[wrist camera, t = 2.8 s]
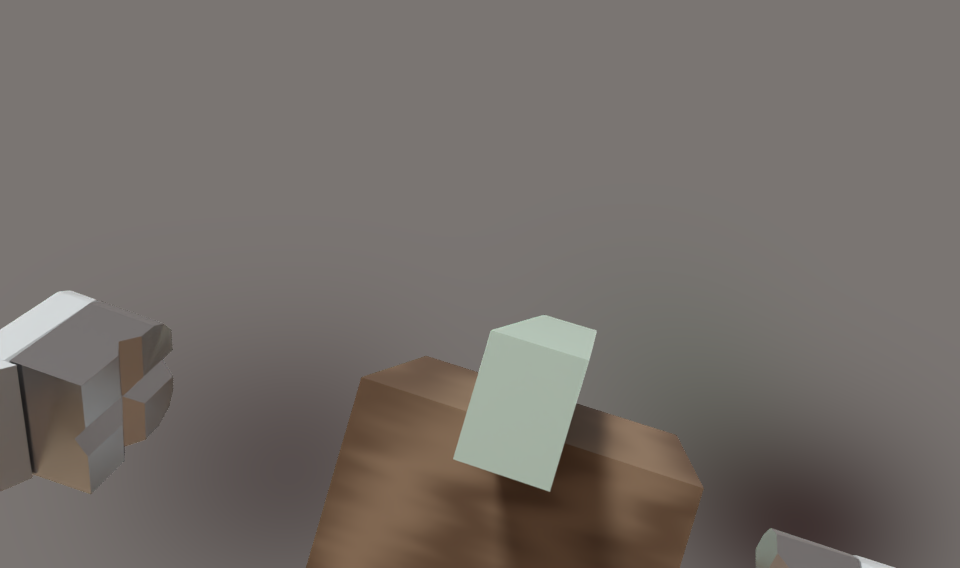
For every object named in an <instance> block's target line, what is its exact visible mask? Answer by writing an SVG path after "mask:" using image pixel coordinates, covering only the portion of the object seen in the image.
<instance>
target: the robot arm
mask: <svg viewBox="0 0 960 568" xmlns="http://www.w3.org/2000/svg"><path fill="white" fill-rule="evenodd" d="M172 350H173V349H172V333H171V329H169V328H168V327H167V326H166V325H164V324H163V323H160V322H157V321H155V320H152V319H150V318H147V317H144V316H141V315H139V314H136V313H133V312H130V311H128V310H125V309H122V308H119V307H117V306H113V305H111V304H108V303H106V302H103V301H98V300H95V299H92V298H90V297H87V296H84V295H81V294H79V293H76V292H73V291H61V292H58V293H55V294H54V295H52V296H51V297H49V298H48V299H46V300H45V301H43V302H42V303H40V304H39V305H37V306H36V307H34V308H33V309H31V310H30V311H28V312H26V313H25V314H23V315H22V316H21V317H19V318H17V319H16V320H14V321H13V322H11V323H10V324H8V325H7V326H5V327H4V328H2V329H1V330H0V492H1V491H3V490H5V489H8V488H10V487H12V486H14V485H17V484H19V483H21V482H24V481H26V480H28V479H31V478H32V474H34V475H36V476H40V477H42V478H45V479H48V480H51V481H54V482H57V483H60V484H63V485H66V486H68V487H71V488H74V489H77V490H80V491H83V492H86V493H89V494H92V493H93V492H94V491H95V490H96V489H97V488H98V487H99V486H100V485H101V484H102V483H103V482H104V481H105V480H106V479H107V478H108V477H109V476H110V475H111V474H112V473H113V472H114V471H115V470H116V469H117V468H118V467H119V466H120V465H121V464H122V462H124V456H125V446H128V445H131V444H134V443H137V442H140V441H143V440H146V439H147V437H148V436H149V435H150V434H151V433H152V432H153V431H154V430H155V429H156V428H157V427H158V426H159V424H160V422H161V421H162V419H163V417H164V415H165V413H166V412H167V410H168V408H169V406H170V401H171V397H172V392H173V375H172V373H171V372H170V370H169V369H168V367H167V366H166V364H165V362H164V361H163V359H164V358H165V357H166V356H167V355H168V354H169V353H170V352H171V351H172ZM756 568H894V567H891V566H888V565H885V564H882V563H879V562H875V561H872V560H869V559H866V558H863V557H860V556H856V555H854V556H852V555H850V554H848V553H845V552H842V551H839V550H836V549H833V548H830V547H827V546H824V545H820V544H818V543H814V542H811V541H808V540H805V539H802V538H799V537H796V536H793V535H790V534H787V533H784V532H781V531H778V530H775V529H772V528H770V529H769V530H768V531H767V532H766V533H765V534H764V535H763V537H762V539H761V541H760V542H759V544H758V546H757V548H756Z"/></svg>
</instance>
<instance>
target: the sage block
mask: <svg viewBox="0 0 960 568" xmlns="http://www.w3.org/2000/svg"><path fill="white" fill-rule="evenodd" d="M596 332H597V331H596V330H593V329H590V328H586V327H583V326H579V325H576V324H573V323H569V322H566V321H563V320H559V319H556V318H553V317H550V316H546V315H542V316H538V317H535V318H531V319H528V320H525V321H521V322H518V323H514V324H511V325H507V326H504V327H501V328H497V329H494V330H491V332H490V335H489V339H488V342H487V346H486V349H485V352H484V356H483V359H482V362H481V366H480V369H479V373H478V376H477V379H476V383H475V386H474V390H473V393H472V396H471V400H470V403H469V406H468V410H467V413H466V417H465V420H464V423H463V427H462V430H461V434H460V437H459V440H458V444H457V447H456V450H455V454H454V457H453V459H454V460H457V461H460V462H463V463H466V464H469V465H472V466H475V467H478V468H481V469H484V470H487V471H490V472H493V473H496V474H499V475H502V476H505V477H508V478H511V479H514V480H516V481H519V482H522V483H525V484H528V485H531V486H534V487H537V488H540V489H543V490H546V491H549V492H550V490H551V486H552V483H553V480H554V476H555V473H556V470H557V466H558V463H559V460H560V456H561V453H562V450H563V446H564V443H565V440H566V436H567V433H568V430H569V426H570V423H571V419H572V416H573V413H574V409H575V406H576V403H577V399H578V396H579V393H580V389H581V386H582V383H583V379H584V376H585V372H586V369H587V366H588V363H589V359H590V355H591V351H592V348H593V344H594V340H595V336H596Z"/></svg>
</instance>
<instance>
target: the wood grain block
mask: <svg viewBox="0 0 960 568" xmlns="http://www.w3.org/2000/svg"><path fill="white" fill-rule="evenodd" d="M478 373H479V372H475V371H472V370H469V369H466V368H463V367H460V366H456V365H453V364H450V363H447V362H444V361H441V360H437V359H434V358H431V357H428V356H424V357H421V358H418V359H415V360H412V361H409V362H406V363H403V364H400V365H397V366H394V367H391V368H388V369H385V370H382V371H379V372H376V373H373V374H370V375H367V376H364V377H362V378H361V381H360V384H359V387H358V391H357V394H356V398H355V401H354V405H353V408H352V411H351V415H350V419H349V422H348V425H347V429H346V432H345V436H344V439H343V442H342V446H341V450H340V453H339V456H338V460H337V463H336V466H335V470H334V473H333V477H332V480H331V484H330V487H329V490H328V494H327V497H326V501H325V504H324V508H323V511H322V515H321V518H320V522H319V525H318V528H317V532H316V535H315V539H314V542H313V545H312V549H311V552H310V556H309V559H308V563H307V566H306V568H680V564H681V561H682V558H683V555H684V551H685V548H686V545H687V542H688V538H689V535H690V532H691V528H692V525H693V522H694V519H695V515H696V512H697V509H698V506H699V502H700V499H701V496H702V492H703V486H702V484H701V482H700V480H699V478H698V476H697V475H696V472H695V470H694V469H693V466H692V465H691V463H690V461H689V459H688V457H687V455H686V453H685V451H684V449H683V447H682V445H681V443H680V441H679V439H678V437H677V435H674V434H671V433H668V432H665V431H661V430H658V429H655V428H652V427H649V426H646V425H643V424H640V423H636V422H633V421H630V420H627V419H624V418H621V417H617V416H614V415H611V414H608V413H605V412H602V411H598V410H595V409H592V408H589V407H586V406H583V405H580V404H576V406H575V409H574V413H573V416H572V419H571V423H570V426H569V430H568V433H567V436H566V440H565V443H564V446H563V450H562V453H561V456H560V460H559V463H558V466H557V470H556V473H555V476H554V480H553V483H552V486H551V490H550V492H549V491H546V490H543V489H540V488H537V487H534V486H531V485H528V484H525V483H522V482H519V481H516V480H514V479H511V478H508V477H505V476H502V475H499V474H496V473H493V472H490V471H487V470H484V469H481V468H478V467H475V466H472V465H469V464H466V463H463V462H460V461H457V460H454V459H453V457H454V454H455V450H456V447H457V444H458V440H459V437H460V434H461V430H462V427H463V423H464V420H465V417H466V413H467V410H468V406H469V403H470V400H471V396H472V393H473V390H474V386H475V383H476V379H477V376H478Z"/></svg>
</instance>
